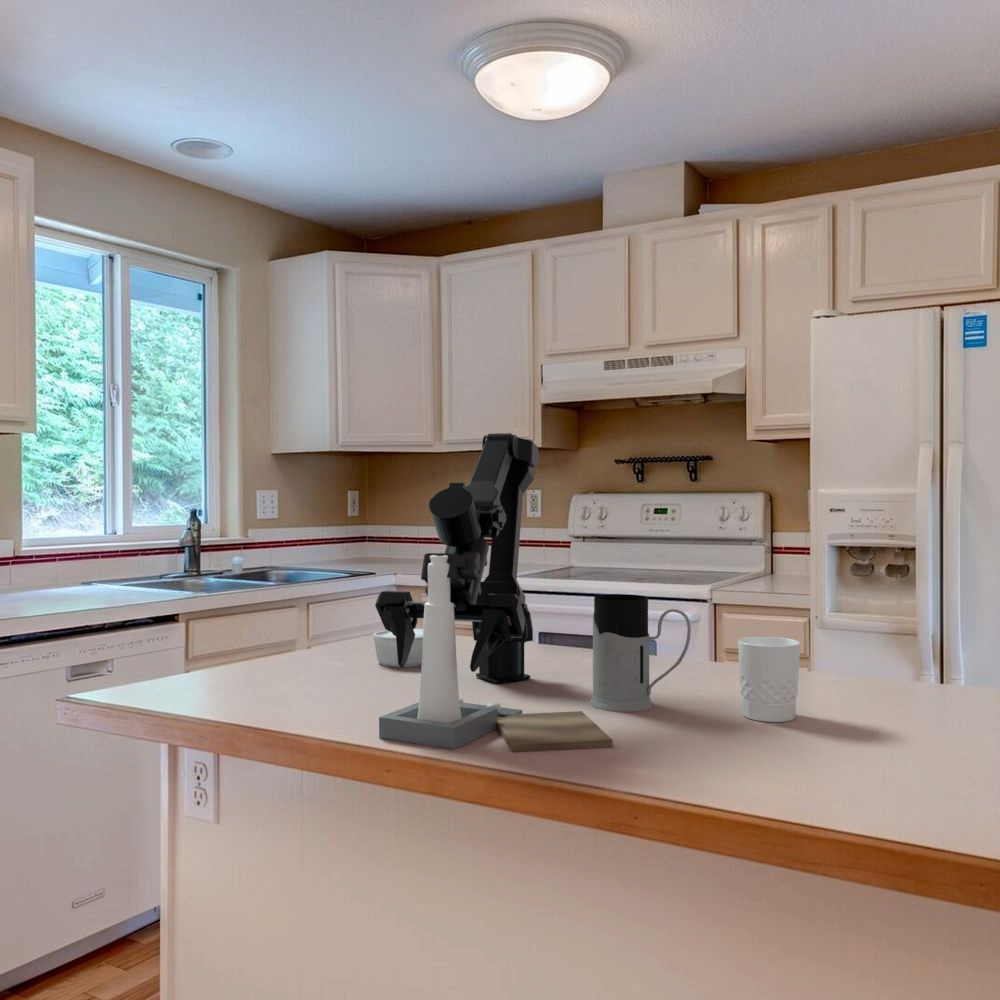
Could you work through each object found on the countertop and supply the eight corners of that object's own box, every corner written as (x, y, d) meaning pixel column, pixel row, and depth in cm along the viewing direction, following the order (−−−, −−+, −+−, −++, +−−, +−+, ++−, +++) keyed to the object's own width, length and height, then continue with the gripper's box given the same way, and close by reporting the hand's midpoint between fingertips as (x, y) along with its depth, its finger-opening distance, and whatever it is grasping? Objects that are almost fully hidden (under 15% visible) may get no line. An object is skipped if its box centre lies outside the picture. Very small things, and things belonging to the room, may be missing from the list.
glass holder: (602, 694, 135) (602, 592, 135) (698, 704, 129) (698, 597, 128) (580, 707, 127) (580, 599, 127) (681, 718, 121) (681, 604, 121)
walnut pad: (492, 721, 120) (492, 715, 120) (581, 717, 122) (581, 711, 122) (511, 751, 106) (511, 744, 106) (612, 746, 108) (612, 739, 108)
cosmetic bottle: (421, 741, 110) (421, 557, 110) (409, 729, 116) (409, 554, 116) (469, 737, 112) (469, 556, 112) (456, 724, 118) (455, 553, 118)
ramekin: (382, 656, 166) (382, 627, 166) (443, 657, 165) (443, 628, 165) (365, 668, 155) (365, 637, 155) (430, 670, 154) (430, 638, 154)
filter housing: (454, 707, 127) (453, 689, 127) (522, 716, 122) (522, 697, 122) (379, 737, 112) (379, 717, 112) (453, 749, 107) (453, 727, 107)
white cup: (767, 726, 117) (767, 648, 117) (725, 713, 124) (725, 639, 124) (813, 719, 120) (813, 643, 120) (769, 706, 127) (769, 634, 127)
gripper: (380, 528, 120) (346, 625, 109) (519, 530, 115) (498, 631, 105) (401, 583, 128) (371, 678, 117) (533, 586, 123) (514, 686, 113)
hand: (435, 668), depth 113 cm, fingers open, 9 cm apart
